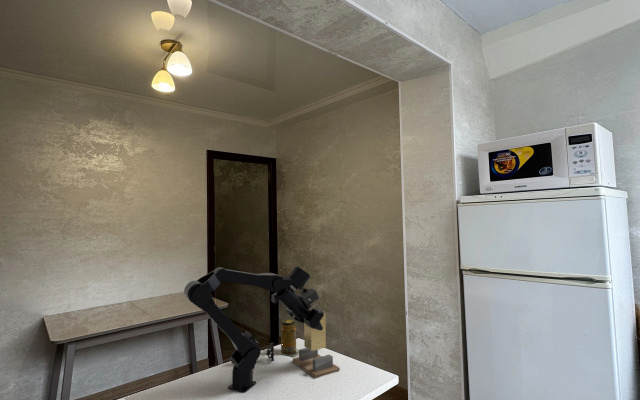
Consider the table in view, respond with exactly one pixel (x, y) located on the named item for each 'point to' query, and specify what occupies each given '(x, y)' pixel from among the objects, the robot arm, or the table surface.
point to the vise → (315, 363)
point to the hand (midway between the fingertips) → (318, 327)
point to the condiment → (288, 339)
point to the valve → (269, 352)
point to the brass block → (315, 336)
